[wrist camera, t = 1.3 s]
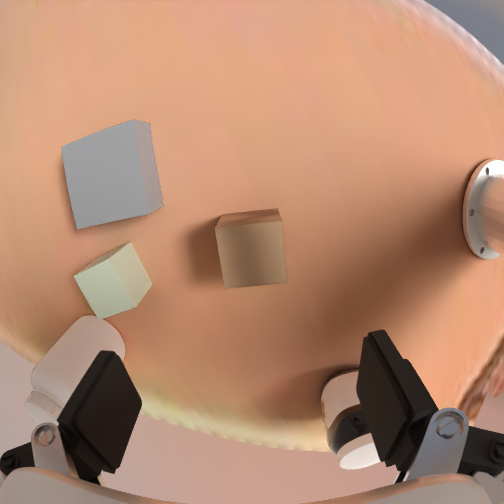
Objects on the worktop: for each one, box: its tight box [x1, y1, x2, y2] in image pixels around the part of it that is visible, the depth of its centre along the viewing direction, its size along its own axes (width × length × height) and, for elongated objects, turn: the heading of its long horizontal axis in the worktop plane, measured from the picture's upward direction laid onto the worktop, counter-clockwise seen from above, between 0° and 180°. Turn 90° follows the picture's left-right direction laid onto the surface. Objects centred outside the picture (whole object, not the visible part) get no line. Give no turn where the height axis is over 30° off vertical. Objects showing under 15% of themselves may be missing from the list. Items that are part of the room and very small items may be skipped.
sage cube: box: [73, 242, 153, 320], centre depth 25 cm, size 5×5×5 cm
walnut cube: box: [215, 209, 287, 289], centre depth 24 cm, size 5×5×5 cm
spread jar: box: [321, 369, 380, 469], centre depth 27 cm, size 12×11×12 cm
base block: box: [61, 120, 164, 229], centre depth 22 cm, size 8×8×4 cm
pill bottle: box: [25, 315, 126, 426], centre depth 24 cm, size 8×8×15 cm
